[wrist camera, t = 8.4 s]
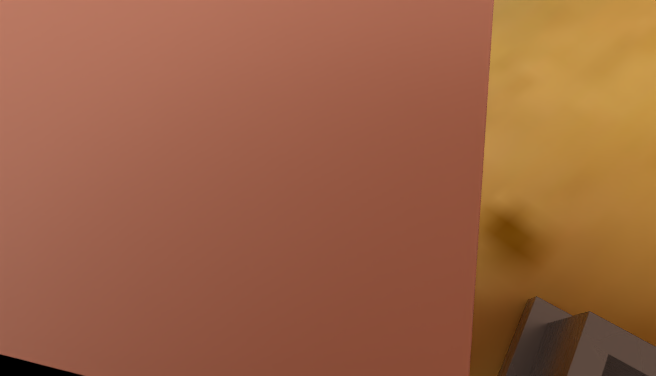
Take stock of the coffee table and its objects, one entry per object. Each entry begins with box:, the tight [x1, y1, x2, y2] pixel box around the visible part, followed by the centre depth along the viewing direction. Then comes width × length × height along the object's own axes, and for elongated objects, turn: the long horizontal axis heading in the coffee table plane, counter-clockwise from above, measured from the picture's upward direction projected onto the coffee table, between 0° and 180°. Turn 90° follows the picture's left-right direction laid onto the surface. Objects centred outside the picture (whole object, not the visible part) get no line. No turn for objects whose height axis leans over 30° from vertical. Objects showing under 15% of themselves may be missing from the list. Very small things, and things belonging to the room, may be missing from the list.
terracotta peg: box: [0, 0, 494, 376], centre depth 8 cm, size 4×4×13 cm
